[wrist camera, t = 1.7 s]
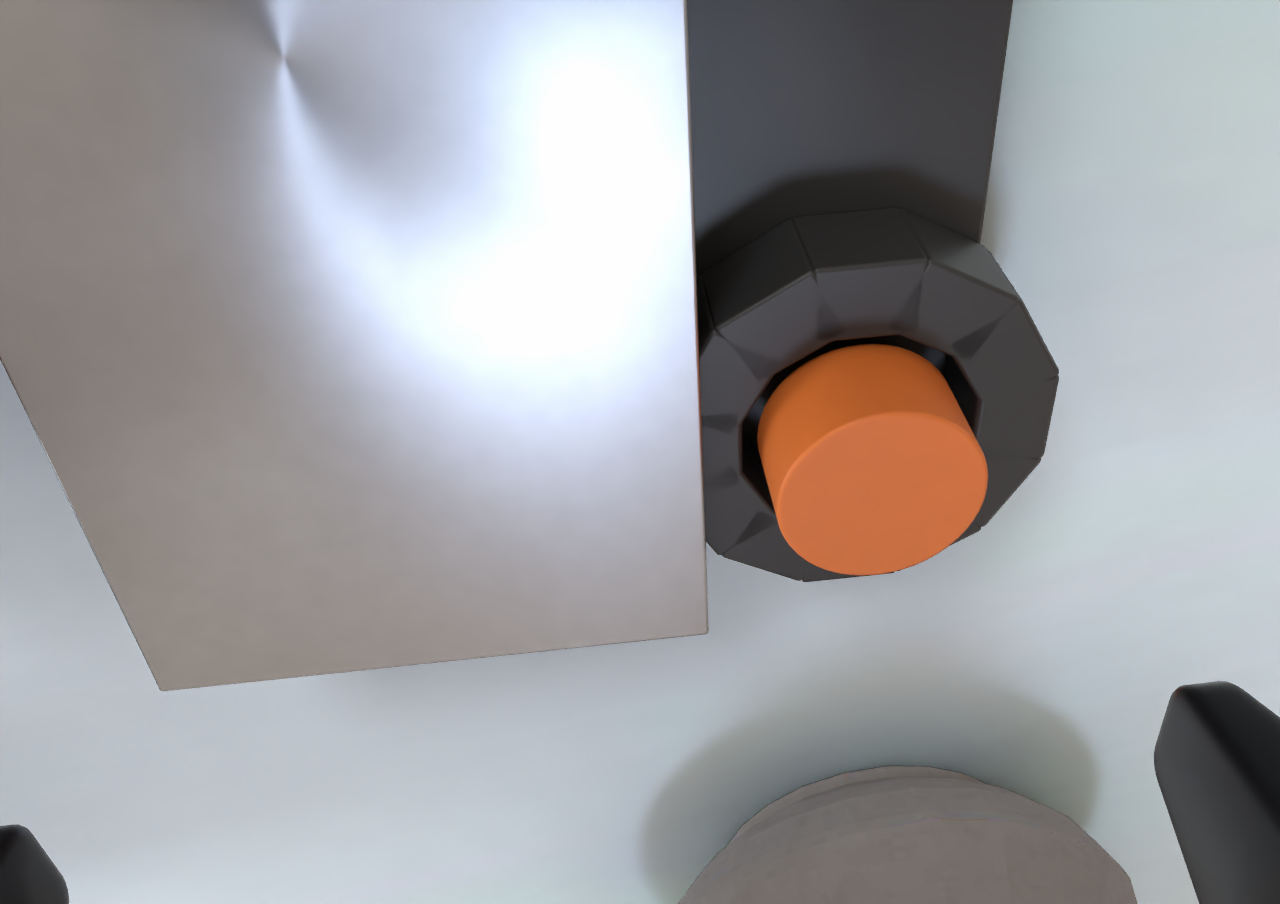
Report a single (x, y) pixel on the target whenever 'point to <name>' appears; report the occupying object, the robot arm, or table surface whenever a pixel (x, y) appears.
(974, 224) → the scale
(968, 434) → the button
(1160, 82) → the table surface
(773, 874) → the coffee pot
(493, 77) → the pan
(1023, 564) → the table surface
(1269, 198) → the table surface
